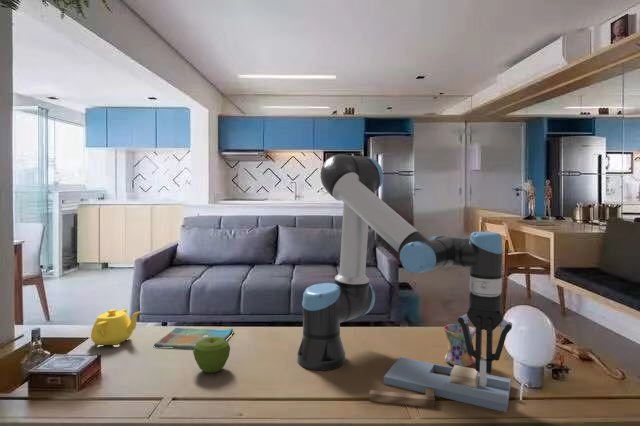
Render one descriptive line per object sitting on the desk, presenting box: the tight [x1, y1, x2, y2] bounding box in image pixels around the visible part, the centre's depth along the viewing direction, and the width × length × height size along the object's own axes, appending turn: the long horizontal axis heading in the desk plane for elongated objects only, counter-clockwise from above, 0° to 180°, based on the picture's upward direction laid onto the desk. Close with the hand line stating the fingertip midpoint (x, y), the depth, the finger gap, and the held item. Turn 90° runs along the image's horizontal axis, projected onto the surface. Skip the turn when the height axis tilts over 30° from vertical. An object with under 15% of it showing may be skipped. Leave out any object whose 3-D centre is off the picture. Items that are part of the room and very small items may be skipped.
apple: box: [192, 337, 231, 374], centre depth 120 cm, size 11×10×10 cm
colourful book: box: [153, 327, 234, 350], centre depth 145 cm, size 17×23×2 cm
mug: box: [443, 323, 476, 367], centre depth 126 cm, size 12×9×11 cm
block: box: [449, 365, 479, 388], centre depth 106 cm, size 6×6×4 cm
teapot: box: [90, 308, 142, 346], centre depth 142 cm, size 14×14×12 cm
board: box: [383, 356, 512, 413], centre depth 111 cm, size 31×15×4 cm, turn 61°
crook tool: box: [369, 388, 436, 408], centre depth 104 cm, size 16×6×2 cm, turn 78°
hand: (483, 383), depth 103 cm, fingers closed
